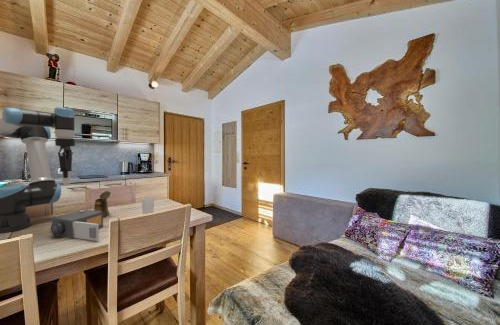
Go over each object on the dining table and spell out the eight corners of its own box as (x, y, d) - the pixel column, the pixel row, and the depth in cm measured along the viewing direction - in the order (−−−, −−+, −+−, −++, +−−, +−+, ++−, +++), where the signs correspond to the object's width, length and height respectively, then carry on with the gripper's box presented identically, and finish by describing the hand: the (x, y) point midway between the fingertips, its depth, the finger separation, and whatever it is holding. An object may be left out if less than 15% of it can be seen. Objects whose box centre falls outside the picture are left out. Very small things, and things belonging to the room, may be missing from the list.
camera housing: (46, 237, 103) (45, 218, 102) (84, 224, 121) (83, 208, 120) (66, 240, 99) (66, 220, 99) (103, 227, 117) (102, 210, 117)
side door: (75, 236, 103) (74, 221, 102) (98, 239, 100) (98, 223, 99) (71, 238, 101) (70, 222, 101) (95, 241, 98) (95, 225, 98)
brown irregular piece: (99, 220, 128) (98, 192, 127) (90, 216, 135) (89, 189, 134) (114, 216, 135) (114, 190, 134) (105, 213, 143) (105, 187, 142)
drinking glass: (146, 223, 124) (145, 199, 123) (139, 221, 128) (139, 197, 127) (156, 220, 130) (156, 197, 129) (150, 218, 133) (149, 195, 133)
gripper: (60, 138, 109) (61, 182, 111) (50, 137, 98) (51, 186, 99) (78, 139, 113) (79, 181, 114) (70, 138, 101) (71, 185, 102)
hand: (66, 183), depth 107 cm, fingers closed
